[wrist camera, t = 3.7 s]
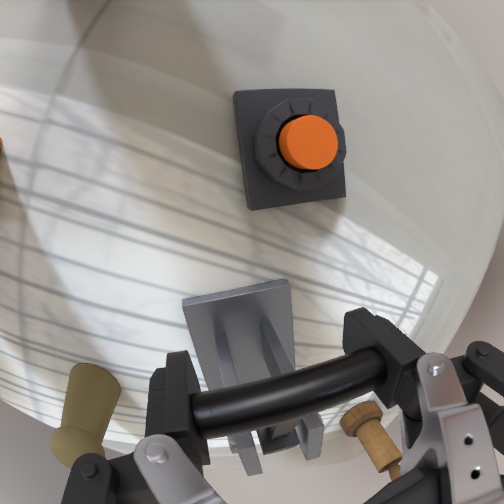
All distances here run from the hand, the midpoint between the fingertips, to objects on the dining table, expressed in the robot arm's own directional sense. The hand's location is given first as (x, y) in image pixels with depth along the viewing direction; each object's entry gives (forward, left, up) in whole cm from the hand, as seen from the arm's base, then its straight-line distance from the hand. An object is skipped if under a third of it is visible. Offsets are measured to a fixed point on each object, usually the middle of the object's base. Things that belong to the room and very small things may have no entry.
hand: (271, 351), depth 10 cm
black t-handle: (+4, 0, -1) cm, 4 cm away
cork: (+12, -17, -13) cm, 25 cm away
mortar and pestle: (+30, +15, -13) cm, 36 cm away
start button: (-7, +6, -10) cm, 14 cm away
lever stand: (+9, 0, -13) cm, 16 cm away
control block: (-7, +6, -13) cm, 16 cm away
